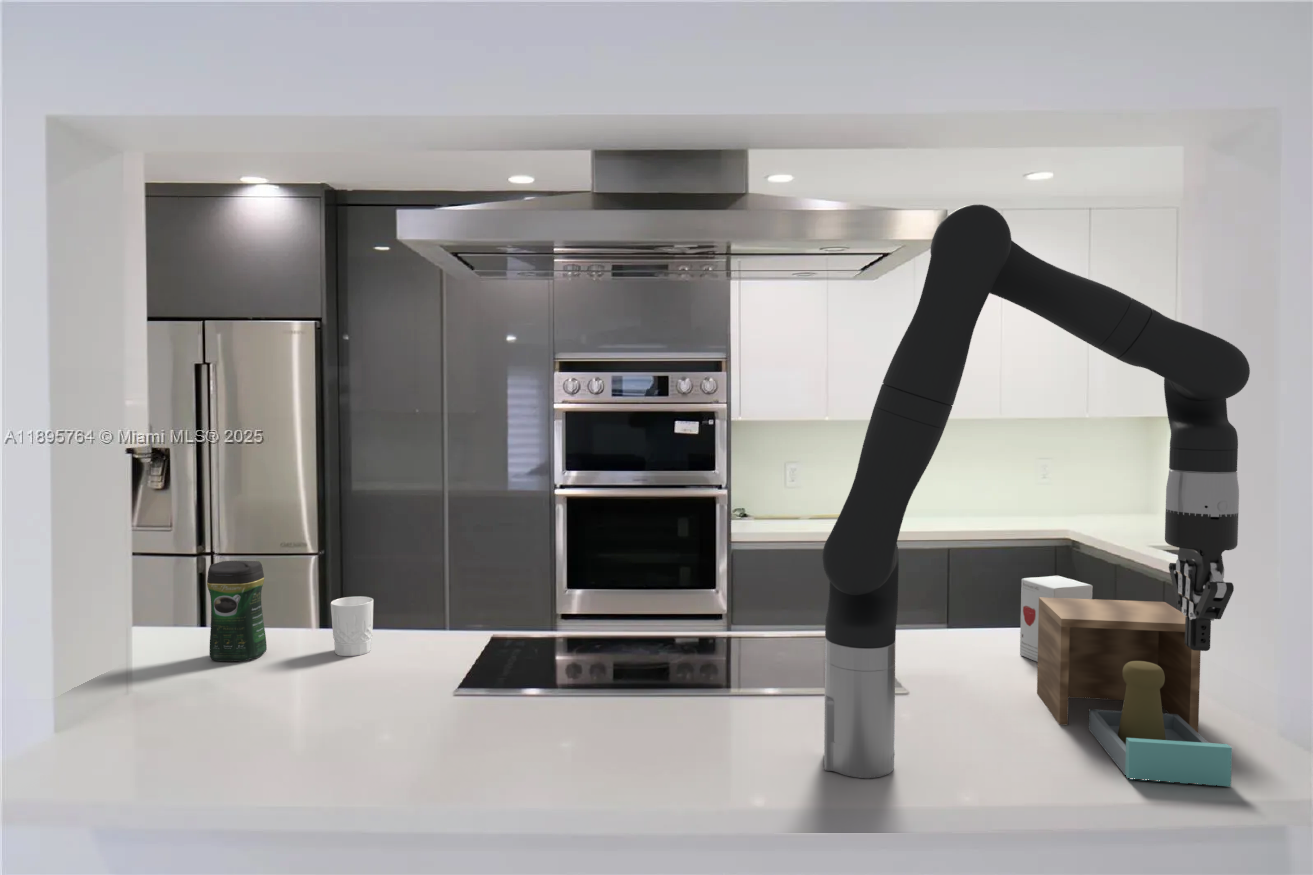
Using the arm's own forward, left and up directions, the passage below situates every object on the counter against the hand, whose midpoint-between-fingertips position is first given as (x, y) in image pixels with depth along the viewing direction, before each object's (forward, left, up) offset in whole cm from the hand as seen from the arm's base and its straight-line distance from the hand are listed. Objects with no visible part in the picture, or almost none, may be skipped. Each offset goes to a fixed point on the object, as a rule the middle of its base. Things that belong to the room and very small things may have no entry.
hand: (1197, 648), depth 107 cm
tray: (0, +13, -19) cm, 23 cm away
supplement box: (-2, +58, -19) cm, 61 cm away
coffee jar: (-155, +33, -19) cm, 160 cm away
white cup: (-135, +40, -19) cm, 142 cm away
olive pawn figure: (-1, +16, -18) cm, 24 cm away
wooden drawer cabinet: (0, +31, -19) cm, 36 cm away
